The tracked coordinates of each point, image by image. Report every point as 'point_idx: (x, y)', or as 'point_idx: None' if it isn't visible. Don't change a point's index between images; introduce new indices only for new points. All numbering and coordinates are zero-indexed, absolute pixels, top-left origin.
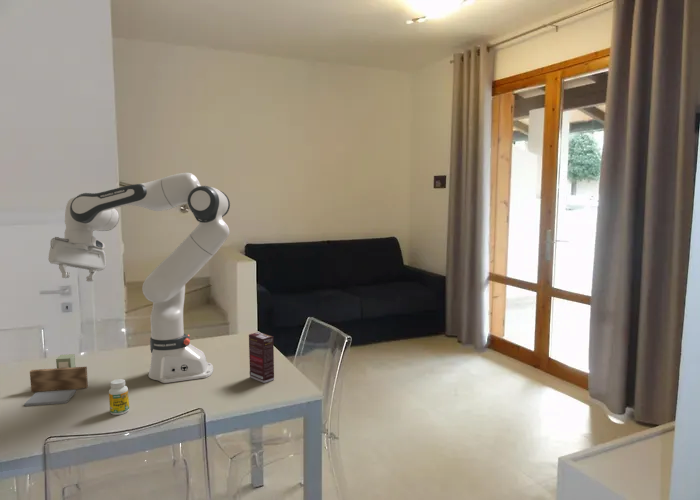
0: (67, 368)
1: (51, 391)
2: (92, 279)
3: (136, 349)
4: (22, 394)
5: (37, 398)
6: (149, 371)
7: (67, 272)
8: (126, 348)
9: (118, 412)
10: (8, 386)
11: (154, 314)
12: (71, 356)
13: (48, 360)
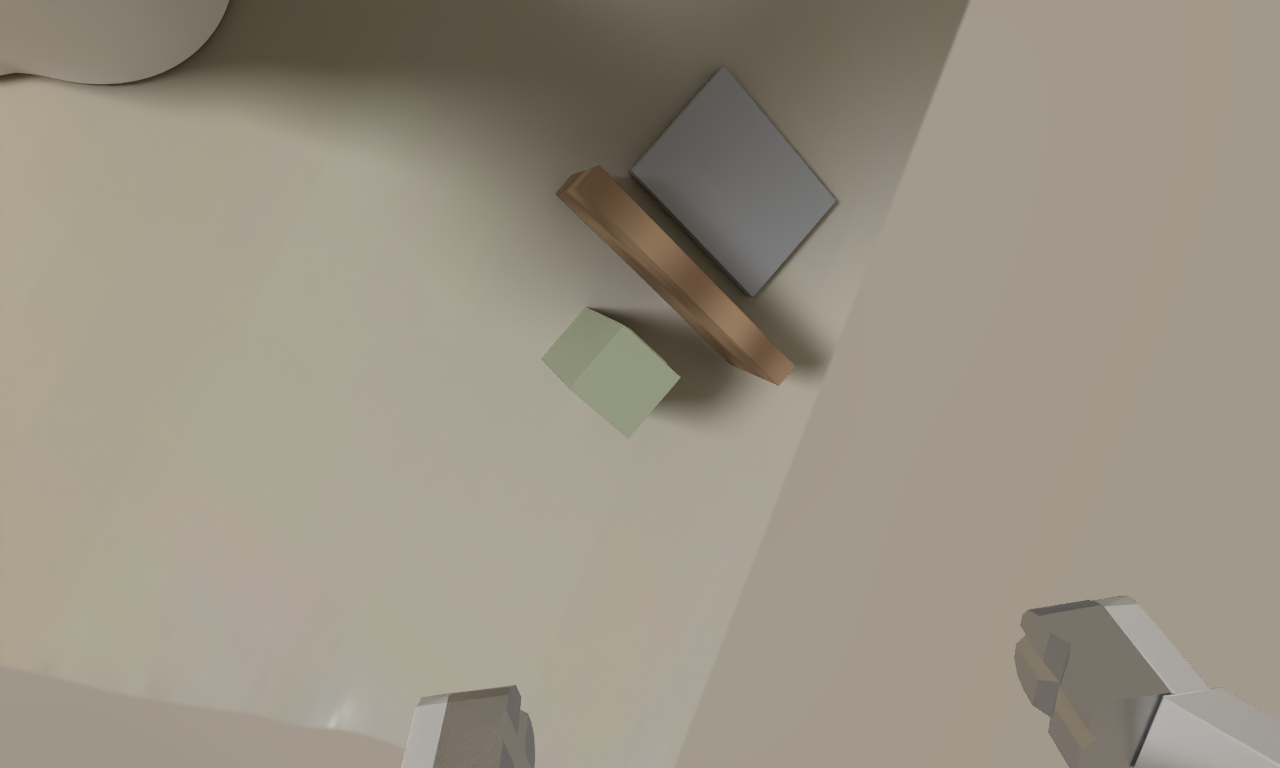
0: (663, 251)
1: (710, 248)
2: (439, 711)
3: (3, 606)
4: None
5: (782, 212)
6: (203, 7)
7: (1153, 686)
8: (56, 672)
9: None
10: (769, 492)
11: None
12: (602, 356)
13: None
